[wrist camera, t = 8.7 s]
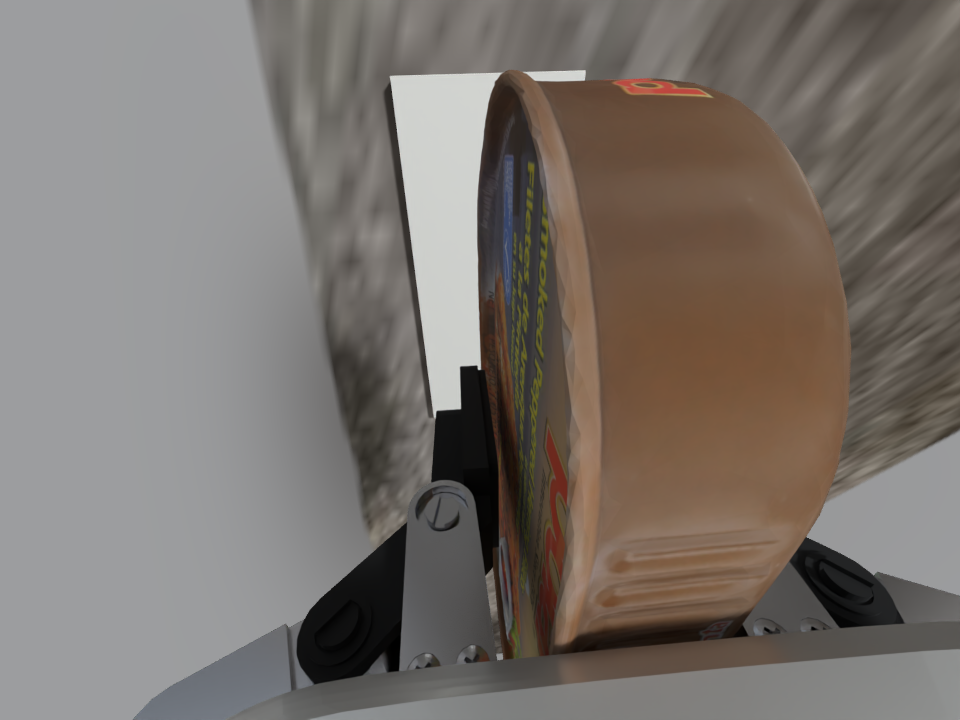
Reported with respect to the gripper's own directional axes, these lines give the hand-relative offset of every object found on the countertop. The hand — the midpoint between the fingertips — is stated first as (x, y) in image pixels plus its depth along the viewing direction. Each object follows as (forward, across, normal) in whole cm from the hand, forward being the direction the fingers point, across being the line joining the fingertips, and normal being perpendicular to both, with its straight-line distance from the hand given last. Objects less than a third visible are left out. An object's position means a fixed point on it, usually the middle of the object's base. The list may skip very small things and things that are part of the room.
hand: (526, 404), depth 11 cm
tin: (+2, 0, 0) cm, 2 cm away
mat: (+12, 0, 0) cm, 12 cm away
